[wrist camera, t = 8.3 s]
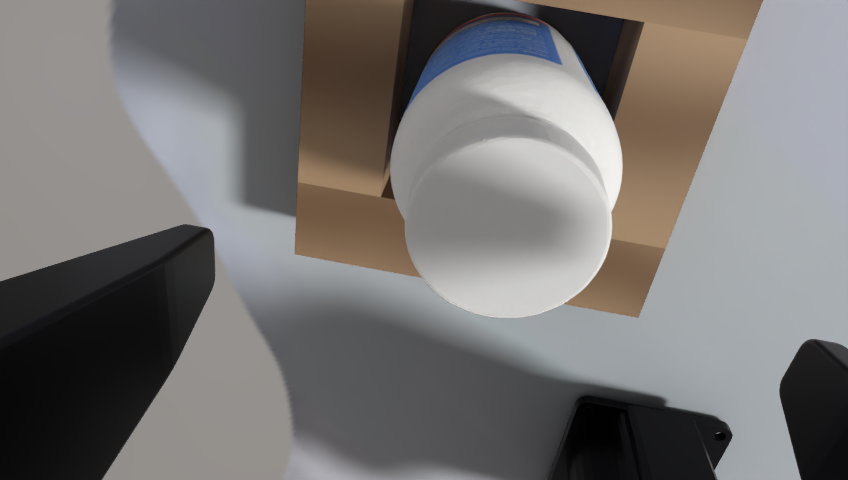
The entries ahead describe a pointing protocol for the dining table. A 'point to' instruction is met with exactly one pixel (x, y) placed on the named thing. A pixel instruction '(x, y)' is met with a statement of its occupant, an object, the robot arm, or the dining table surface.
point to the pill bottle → (506, 169)
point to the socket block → (623, 96)
